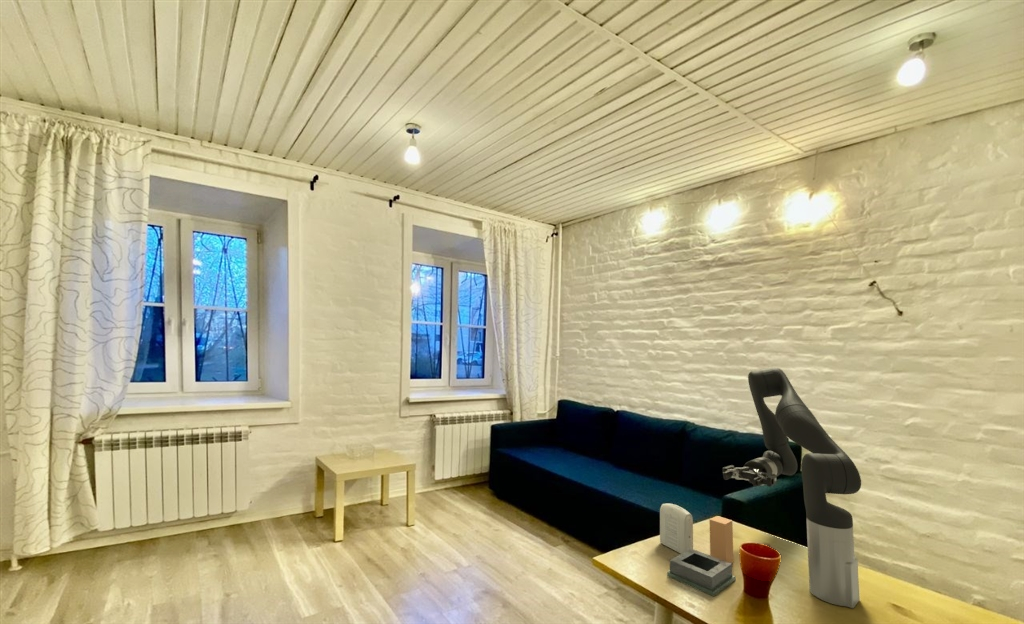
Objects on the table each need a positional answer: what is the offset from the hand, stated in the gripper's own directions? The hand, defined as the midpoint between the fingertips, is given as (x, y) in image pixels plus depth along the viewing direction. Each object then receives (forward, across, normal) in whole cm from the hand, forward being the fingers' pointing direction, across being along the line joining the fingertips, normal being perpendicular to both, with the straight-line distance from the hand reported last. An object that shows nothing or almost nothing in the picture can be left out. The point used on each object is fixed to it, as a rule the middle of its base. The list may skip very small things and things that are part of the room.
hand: (739, 479), depth 132 cm
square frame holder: (+27, +1, +20) cm, 33 cm away
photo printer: (+16, -12, +20) cm, 28 cm away
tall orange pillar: (+13, 0, +20) cm, 24 cm away
